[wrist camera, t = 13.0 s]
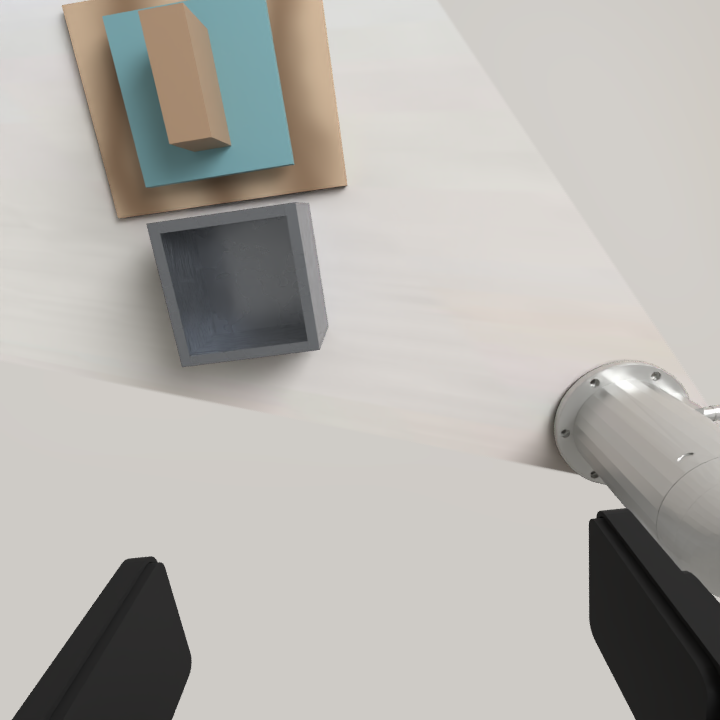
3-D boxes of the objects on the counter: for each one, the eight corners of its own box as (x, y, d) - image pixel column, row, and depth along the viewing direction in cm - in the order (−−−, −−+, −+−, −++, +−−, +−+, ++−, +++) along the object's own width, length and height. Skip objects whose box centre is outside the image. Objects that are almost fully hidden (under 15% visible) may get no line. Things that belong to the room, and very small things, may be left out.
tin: (309, 203, 43) (295, 202, 36) (328, 326, 46) (319, 349, 39) (185, 221, 44) (146, 223, 36) (213, 341, 47) (182, 366, 39)
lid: (268, 0, 38) (245, -48, 31) (297, 166, 42) (281, 157, 35) (118, 27, 39) (61, -13, 32) (158, 188, 42) (115, 184, 35)
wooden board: (317, -35, 38) (316, -39, 37) (347, 185, 43) (346, 185, 42) (67, 9, 39) (61, 5, 39) (122, 218, 44) (118, 218, 43)
